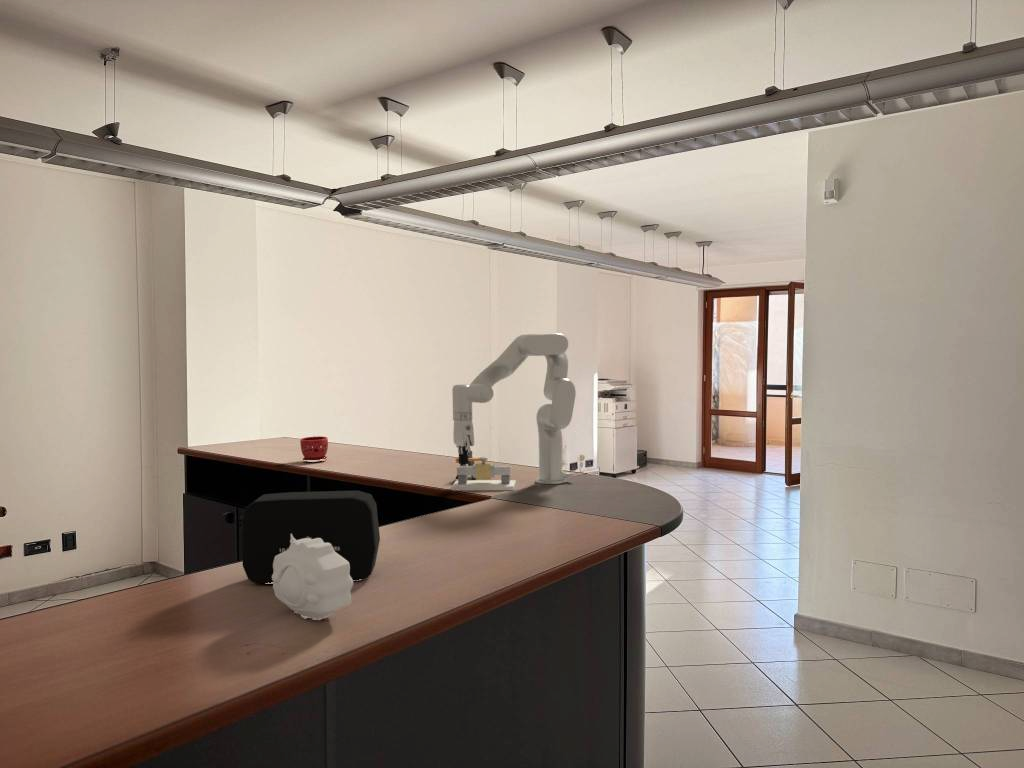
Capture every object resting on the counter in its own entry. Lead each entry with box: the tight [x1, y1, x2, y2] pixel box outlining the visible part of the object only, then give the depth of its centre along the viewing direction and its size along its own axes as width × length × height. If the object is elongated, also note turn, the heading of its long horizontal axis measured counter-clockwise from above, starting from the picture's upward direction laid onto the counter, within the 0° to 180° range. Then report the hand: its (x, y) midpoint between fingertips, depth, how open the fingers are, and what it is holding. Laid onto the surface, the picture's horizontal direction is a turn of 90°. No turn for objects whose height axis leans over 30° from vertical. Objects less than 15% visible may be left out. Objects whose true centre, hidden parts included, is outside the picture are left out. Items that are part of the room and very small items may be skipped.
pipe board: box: [451, 475, 517, 491], centre depth 278 cm, size 24×13×5 cm, turn 86°
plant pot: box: [299, 435, 329, 461], centre depth 351 cm, size 13×13×12 cm
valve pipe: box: [456, 461, 512, 480], centre depth 278 cm, size 21×6×7 cm, turn 86°
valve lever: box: [455, 456, 488, 464], centre depth 277 cm, size 12×3×2 cm, turn 102°
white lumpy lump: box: [272, 534, 354, 619], centre depth 142 cm, size 11×18×16 cm, turn 52°
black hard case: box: [241, 490, 381, 584], centre depth 168 cm, size 30×12×20 cm, turn 94°
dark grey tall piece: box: [455, 449, 476, 480], centre depth 296 cm, size 9×6×12 cm, turn 79°
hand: (463, 463), depth 273 cm, fingers closed
